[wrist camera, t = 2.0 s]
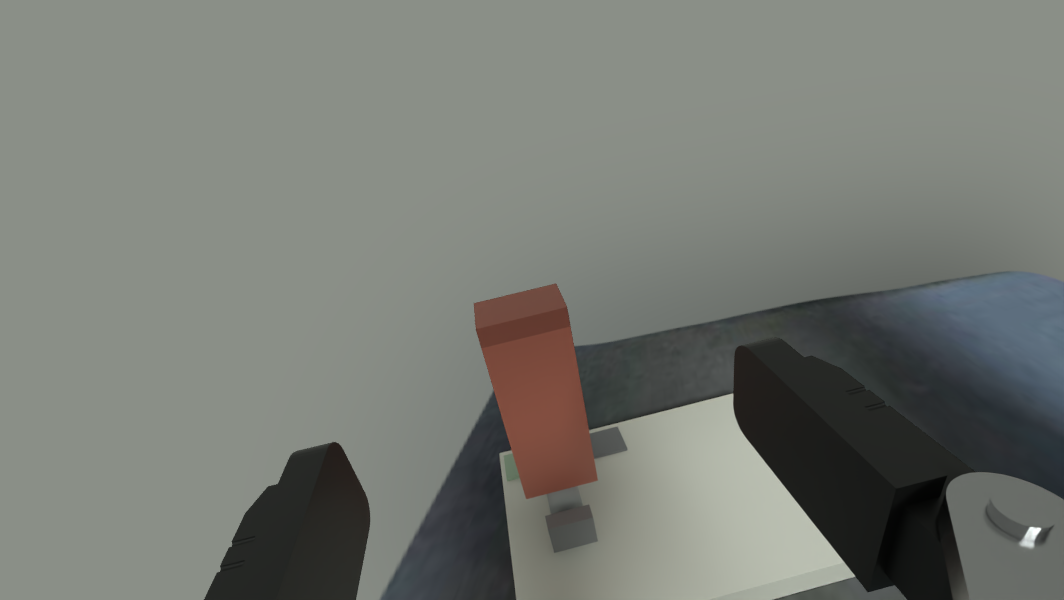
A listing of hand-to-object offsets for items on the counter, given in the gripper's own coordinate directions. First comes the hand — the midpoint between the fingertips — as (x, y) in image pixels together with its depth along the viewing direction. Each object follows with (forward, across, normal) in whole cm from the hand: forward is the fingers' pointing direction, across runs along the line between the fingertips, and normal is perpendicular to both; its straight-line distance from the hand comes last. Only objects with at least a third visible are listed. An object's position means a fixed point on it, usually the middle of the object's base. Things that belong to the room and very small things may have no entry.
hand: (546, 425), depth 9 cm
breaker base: (+10, -6, +18) cm, 22 cm away
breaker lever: (+12, 0, +15) cm, 19 cm away
